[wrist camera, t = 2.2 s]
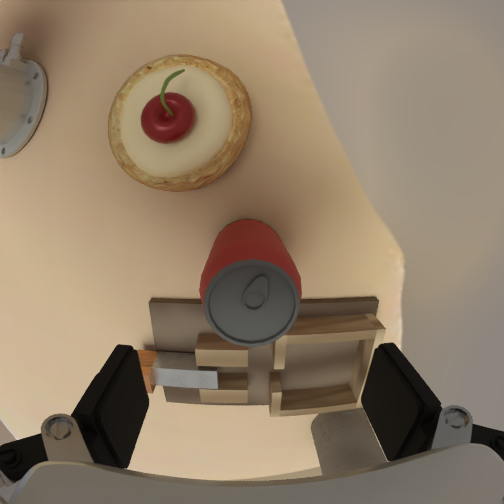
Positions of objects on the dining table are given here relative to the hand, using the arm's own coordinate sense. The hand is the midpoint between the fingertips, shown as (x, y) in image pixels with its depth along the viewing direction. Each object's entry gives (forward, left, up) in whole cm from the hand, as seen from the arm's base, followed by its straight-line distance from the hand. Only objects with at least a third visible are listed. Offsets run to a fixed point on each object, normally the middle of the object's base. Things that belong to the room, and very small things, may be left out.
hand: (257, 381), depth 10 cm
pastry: (-12, -6, -19) cm, 23 cm away
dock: (+12, +2, -18) cm, 22 cm away
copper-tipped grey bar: (+12, -8, -17) cm, 22 cm away
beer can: (0, 0, -19) cm, 19 cm away
